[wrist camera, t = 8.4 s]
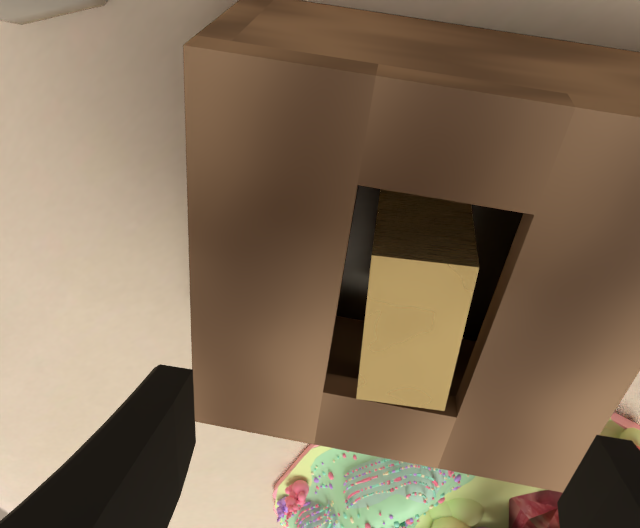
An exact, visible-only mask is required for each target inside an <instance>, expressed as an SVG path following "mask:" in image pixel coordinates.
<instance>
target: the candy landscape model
mask: <svg viewBox="0 0 640 528" xmlns="http://www.w3.org/2000/svg"><path fill="white" fill-rule="evenodd" d="M600 435H601V436H607V437H613V438H619V439H626V440H632V441H633V443H634V444H635V445H636V446H637V448H638V449H639V450H640V425H638V424H637V423H635V422H633V421H631V420H629V419H627V418H625V417H623V416H621V415H619V414H617V413H615V412H614V413H613V414H612V416H611V417H610V419H609V421H608V422H607V424H606V425H605V427H604V429H603V430H602V432H601V433H600ZM561 495H562V492H557V491H551V490H546V489H541V488H536V487H531V486H526V485H521V484H515V483H510V482H505V481H500V480H495V479H490V478H484V477H479V476H474V475H469V474H464V473H459V472H453V471H448V470H443V469H438V468H433V467H428V466H423V465H417V464H412V463H407V462H402V461H397V460H392V459H386V458H381V457H376V456H371V455H366V454H361V453H355V452H350V451H345V450H340V449H335V448H330V447H325V446H319V445H314V444H310V445H309V446H308V447H307V448H306V449H305V450H304V451H303V452H302V454H301V455H300V456H299V457H298V458H297V459H296V461H295V462H294V463H293V464H292V465H291V467H290V468H289V469H288V470H287V471H286V472H285V474H284V475H283V476H282V477H281V478H280V479H279V481H278V482H277V483H276V484H275V488H274V491H273V498H274V499H275V504H274V507H273V510H274V511H275V513H276V514H277V517H278V519H277V522H278V521H280V522H281V523H280V524H281V525H282V526H283V527H284V528H560V525H559V516H558V506H557V502H558V500H559V498H560V497H561Z"/></svg>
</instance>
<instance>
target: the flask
mask: <svg viewBox="0 0 640 528" xmlns="http://www.w3.org/2000/svg"><path fill="white" fill-rule="evenodd" d="M106 1H107V0H0V20H1V21H5V22H10V23H16V24H21V25H23V24H27V23H31V22H36V21H40V20H44V19H48V18H53V17H57V16H61V15H65V14H69V13H74V12H78V11H82V10H86V9H91V8H95V7H99V6H103V5H105V3H106Z"/></svg>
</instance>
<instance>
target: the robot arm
mask: <svg viewBox="0 0 640 528" xmlns="http://www.w3.org/2000/svg"><path fill="white" fill-rule="evenodd" d="M195 443H196V437H195V411H194V385H193V370H191V369H185V368H179V367H172V366H166V365H158V366H157V367H155V368H154V369H153V370H152V371H151V372H150V374H149V375H148V376H147V377H146V378H145V379H144V380H143V382H142V383H141V384H140V385H139V386H138V387H137V388H136V390H135V391H134V392H133V393H132V394H131V395H130V396H129V397H128V398H127V400H126V401H125V402H124V403H123V404H122V405H121V406H120V407H119V408H118V409H117V410H116V411H115V412H114V414H113V415H112V416H111V417H110V418H109V419H108V420H107V421H106V422H105V423H104V424H103V425H102V426H101V427H100V428H99V429H98V430H97V431H96V432H95V433H94V434H93V435H92V436H91V437H90V438H89V439H88V440H87V441H86V442H85V443H84V444H83V445H82V446H81V447H80V448H79V449H78V450H77V451H76V452H75V453H74V454H73V455H72V456H71V457H70V458H69V459H68V460H67V461H66V462H65V463H64V464H63V465H62V466H61V467H60V468H59V469H58V470H57V471H56V472H54V473H53V474H52V475H51V476H50V477H49V478H48V479H47V480H46V481H45V482H44V483H42V484H41V485H40V486H39V487H38V488H37V489H36V490H35V491H34V492H33V493H32V494H30V495H29V496H28V497H27V498H26V499H25V500H24V501H23V502H22V503H21V504H19V505H18V506H17V507H16V508H15V509H14V510H13V511H11V512H10V513H9V514H8V515H7V516H6V517H5V518H3V519H2V520H1V521H0V528H167V527H168V525H169V522H170V520H171V517H172V515H173V512H174V510H175V507H176V505H177V502H178V500H179V497H180V495H181V491H182V488H183V485H184V481H185V478H186V475H187V471H188V468H189V464H190V461H191V457H192V454H193V450H194V447H195ZM557 506H558V516H559V525H560V528H640V450H639V449H638V448H637V446H636V445H635V444H634V443H633V441H632V440H626V439H619V438H613V437H607V436H601V435H596V437H595V438H594V440H593V442H592V443H591V445H590V447H589V449H588V450H587V452H586V454H585V455H584V457H583V459H582V461H581V462H580V464H579V466H578V468H577V469H576V471H575V473H574V474H573V476H572V478H571V480H570V481H569V483H568V485H567V486H566V488H565V490H564V492H563V493H562V495H561V497H560V498H559V500H558V502H557Z"/></svg>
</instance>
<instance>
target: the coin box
mask: <svg viewBox="0 0 640 528" xmlns="http://www.w3.org/2000/svg"><path fill="white" fill-rule="evenodd" d="M183 57H184V92H185V128H186V164H187V199H188V235H189V270H190V306H191V342H192V370H193V385H194V411H195V421H196V422H201V423H206V424H211V425H216V426H221V427H227V428H232V429H237V430H242V431H247V432H252V433H257V434H263V435H268V436H273V437H278V438H283V439H288V440H294V441H299V442H304V443H309V444H314V445H319V446H325V447H330V448H335V449H340V450H345V451H350V452H355V453H361V454H366V455H371V456H376V457H381V458H386V459H392V460H397V461H402V462H407V463H412V464H417V465H423V466H428V467H433V468H438V469H443V470H448V471H453V472H459V473H464V474H469V475H474V476H479V477H484V478H490V479H495V480H500V481H505V482H510V483H515V484H521V485H526V486H531V487H536V488H541V489H546V490H551V491H557V492H562V493H563V492H564V490H565V488H566V486H567V485H568V483H569V481H570V480H571V478H572V476H573V474H574V473H575V471H576V469H577V468H578V466H579V464H580V462H581V461H582V459H583V457H584V455H585V454H586V452H587V450H588V449H589V447H590V445H591V443H592V442H593V440H594V438H595V437H596V435H600V433H601V432H602V430H603V429H604V427H605V425H606V424H607V422H608V421H609V419H610V417H611V416H612V414H613V413H614V411H615V409H616V408H617V406H618V404H619V403H620V401H621V400H622V398H623V396H624V395H625V393H626V392H627V390H628V388H629V387H630V385H631V384H632V382H633V380H634V379H635V377H636V376H637V374H638V372H639V371H640V52H634V51H628V50H621V49H614V48H608V47H601V46H595V45H588V44H582V43H575V42H568V41H562V40H555V39H549V38H542V37H536V36H529V35H522V34H516V33H509V32H503V31H496V30H490V29H483V28H476V27H470V26H463V25H457V24H450V23H444V22H437V21H430V20H424V19H417V18H411V17H404V16H398V15H391V14H385V13H378V12H371V11H365V10H358V9H352V8H345V7H339V6H332V5H325V4H319V3H312V2H306V1H299V0H239V1H238V2H237V3H235V4H234V5H233V6H232V7H230V8H229V9H228V10H227V11H225V12H224V13H223V14H222V15H220V16H219V17H218V18H217V19H215V20H214V21H213V22H212V23H210V24H209V25H208V26H207V27H205V28H204V29H203V30H202V31H200V32H199V33H198V34H197V35H195V36H194V37H193V38H192V39H190V40H189V41H188V42H187V43H185V44H184V45H183ZM358 185H360V186H366V187H372V188H378V189H384V190H390V191H396V192H402V193H408V194H414V195H419V196H425V197H431V198H437V199H443V200H449V201H455V202H461V203H467V204H473V205H479V206H485V207H491V208H496V209H502V210H508V211H514V212H520V213H523V216H522V219H521V221H520V224H519V227H518V230H517V232H516V235H515V238H514V240H513V243H512V246H511V249H510V251H509V254H508V257H507V259H506V262H505V265H504V267H503V270H502V273H501V276H500V278H499V281H498V284H497V286H496V289H495V292H494V295H493V297H492V300H491V303H490V305H489V308H488V311H487V313H486V316H485V319H484V322H483V324H482V327H481V330H480V332H479V335H478V338H477V341H472V340H467V339H462V341H461V345H460V349H459V353H458V358H457V362H456V366H455V370H454V374H453V378H452V382H451V386H450V390H449V395H448V399H447V403H446V407H445V411H440V410H433V409H426V408H419V407H411V406H404V405H397V404H390V403H382V402H375V401H368V400H361V399H356V396H357V387H358V377H359V368H360V359H361V350H362V340H363V331H364V322H365V321H362V320H356V319H351V318H345V317H340V316H336V314H337V308H338V302H339V296H340V290H341V284H342V278H343V272H344V266H345V260H346V254H347V248H348V242H349V236H350V230H351V224H352V218H353V212H354V206H355V200H356V194H357V188H358Z"/></svg>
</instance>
